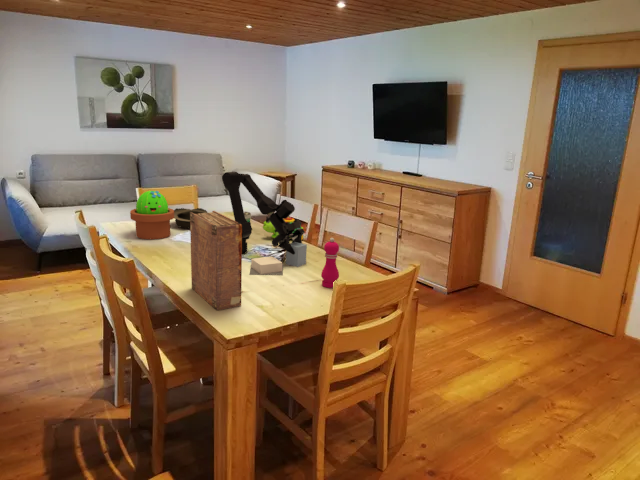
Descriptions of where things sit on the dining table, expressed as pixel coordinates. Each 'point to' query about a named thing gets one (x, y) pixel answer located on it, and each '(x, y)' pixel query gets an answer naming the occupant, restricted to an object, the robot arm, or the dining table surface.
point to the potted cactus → (152, 216)
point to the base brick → (266, 265)
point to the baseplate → (253, 272)
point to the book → (216, 259)
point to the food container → (247, 216)
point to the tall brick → (297, 255)
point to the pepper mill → (330, 264)
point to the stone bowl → (185, 216)
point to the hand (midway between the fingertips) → (298, 252)
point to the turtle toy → (270, 228)
